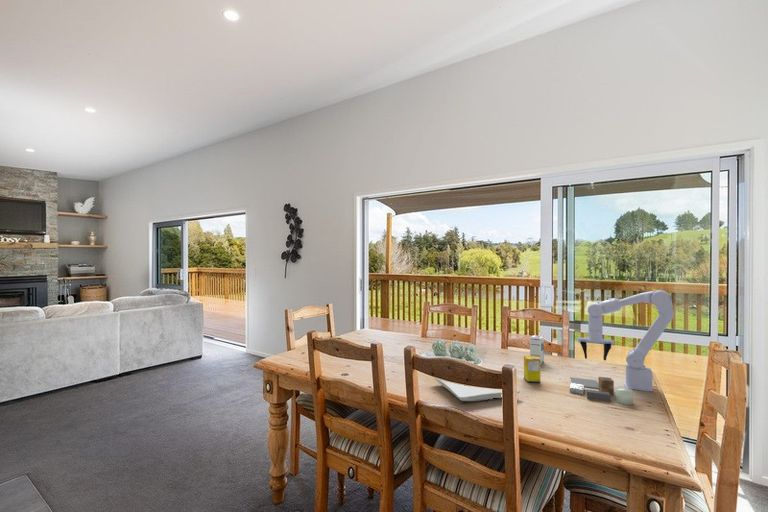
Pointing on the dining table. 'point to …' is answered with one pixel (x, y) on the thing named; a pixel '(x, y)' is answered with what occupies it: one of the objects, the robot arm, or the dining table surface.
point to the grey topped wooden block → (577, 388)
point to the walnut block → (606, 385)
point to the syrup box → (537, 347)
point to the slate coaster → (585, 382)
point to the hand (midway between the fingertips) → (595, 359)
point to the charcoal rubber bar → (598, 395)
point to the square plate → (470, 392)
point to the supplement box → (532, 369)
